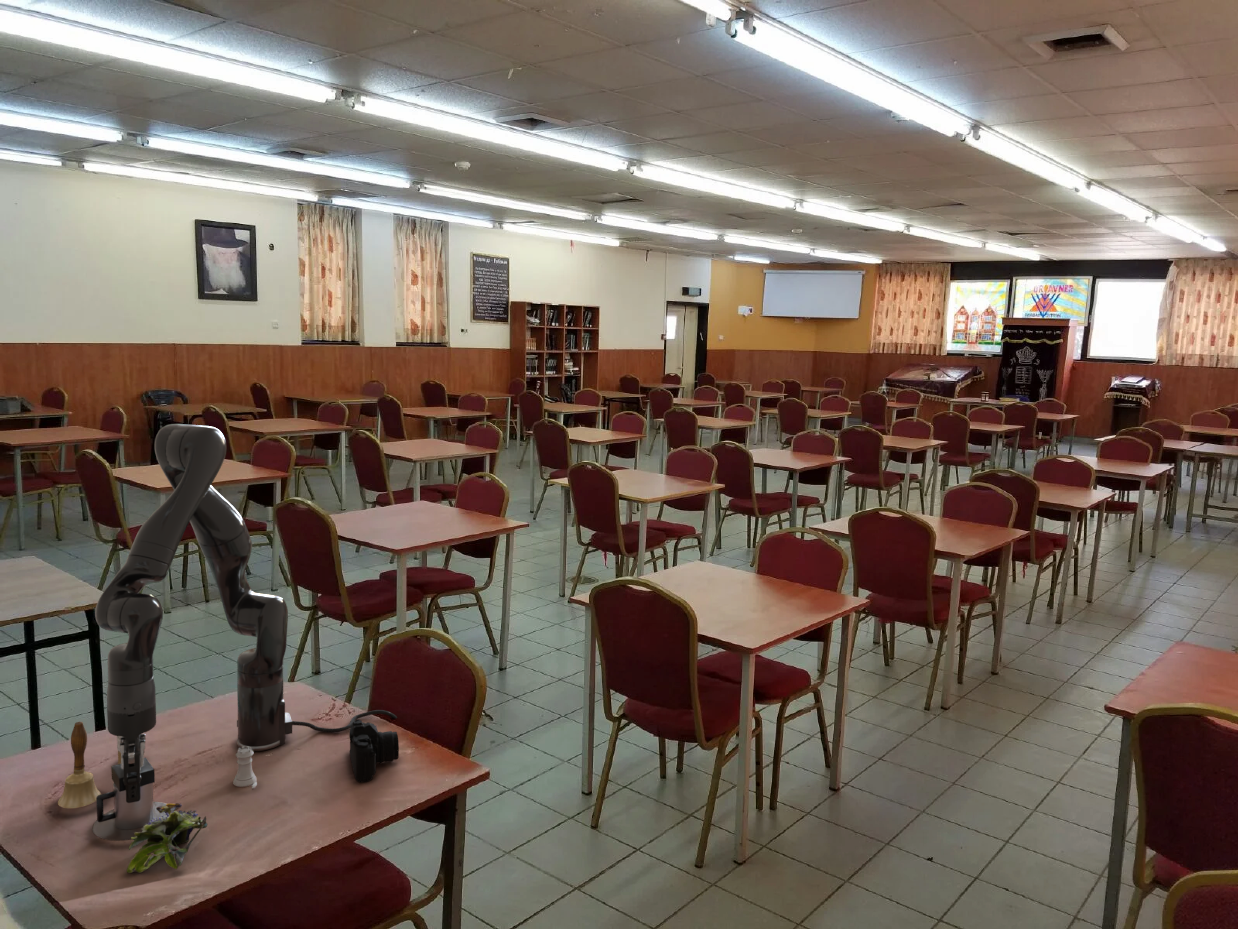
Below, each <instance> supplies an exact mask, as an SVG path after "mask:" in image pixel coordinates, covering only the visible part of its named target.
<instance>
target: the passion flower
mask: <svg viewBox="0 0 1238 929" xmlns="http://www.w3.org/2000/svg"><path fill="white" fill-rule="evenodd" d="M166 804H167V805H166V806H159V807H157V808H156V809H157V810H158V811H159V813H165V814H166V815H167V817H164V816H162V817H161V818H160V817H159V818H156V819H154V818H152V819H154V820H151V821H149V822H148V823H147V825H145V826H143V827H144V828H142V830H143V831H142V832H141V833H140V832H139V833H138V832H136V833H134V834H135V836H137V837H131V839H132V841H131V843H130V844H129V846H128V851H131V850H132V849H133V848H135V846H138V845H139V844H141V843H144V842H145V841H146V843H144V844H143V845H142V846H141V847H140V848H139V850H138V851H137V852H135V854H134V856H133V857H132V859H130V861H129V862H128V865H127V868H126V873H128V874H132V873H134V872H136V873H143V872H145V871H146V870H148V869H150V868H151V867H152V866H153V865H155V864H156V863H157V862H159V860H161V859H162V858H163V857H164V861H165V862H166V864H167V866H168V867H171V868H173V869H174V870H177V869H178V867H180V866H182V863H183V860H184V858H185V855H186V854H187V853H188V851H189V848H190V845H191V844H192V843H193V841H194V840H195V838H196V837H197V836H198V834H199V833H200V831H201V830H202V829H205V828H207V827H208V823H207V816H206V815H205V816H204V817H203V819H201V818H202V817H201V816H198V815H199V814H198V813H196V812H197V810H192V809H190V810H188V811H187V812H186V810H184V811H183V810H179V809H180V808H182V805H183V804H182V802H177V803H166ZM173 811H174V812H173ZM195 829H197V831H196V832H195V833H194V835H193V836H192V838H191V839H190V836H191V834H192V832H193V831H194V830H195ZM184 843H187V844H186V845H185V846H184V847H179V845H182V844H184ZM176 861H177V862H178V864H177V862H176Z"/></svg>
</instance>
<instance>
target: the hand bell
mask: <svg viewBox="0 0 1238 929" xmlns="http://www.w3.org/2000/svg"><path fill="white" fill-rule="evenodd" d="M87 745H88V733H87V729H86V728H85V726H84V722H83V721H76V722H75V723H74V726H73V729H72V732H71V736H70V746H71V751H72V753H73V756H74V760H73V761H74V762H73V773H71V774H70V775H68V776H66V778H65V780H64V788H63V792H62V795H61V796H60V798H59V799H58V800H57V805H58V806H59V807H61V808H64V809H78V808H82V807H87V806H89V805H91V804H93V803H95V802H96V798H97V796H98V795H101V794H102V793H101V792H100V790H99V789H98V788H97V786H96V783H95V779H94V774H93V773H92V772H90V771H85V766H86V765H85V751H86V749H87Z"/></svg>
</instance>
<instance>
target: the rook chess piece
mask: <svg viewBox="0 0 1238 929" xmlns="http://www.w3.org/2000/svg"><path fill="white" fill-rule="evenodd" d="M254 752H255V751H252V748H251V747H250V749H249V746H247V747H246V748H245V749H244V746H243V747H242V749H241V748H239V747H238V749H237V751H236V753H235V757H236V758H237V760H236V764H237V771H236V774H235V777H234V779H233V781H232V784H233V785H234V786H235V787H237V788H246V787H250V786H251V789H252V790H254V789H255V788H256V787H257V786H258V782H257V776H256V774H255V773H254V771H253V766H252V765H253V764H252V762H253V758H252V756H253V755H254Z"/></svg>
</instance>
